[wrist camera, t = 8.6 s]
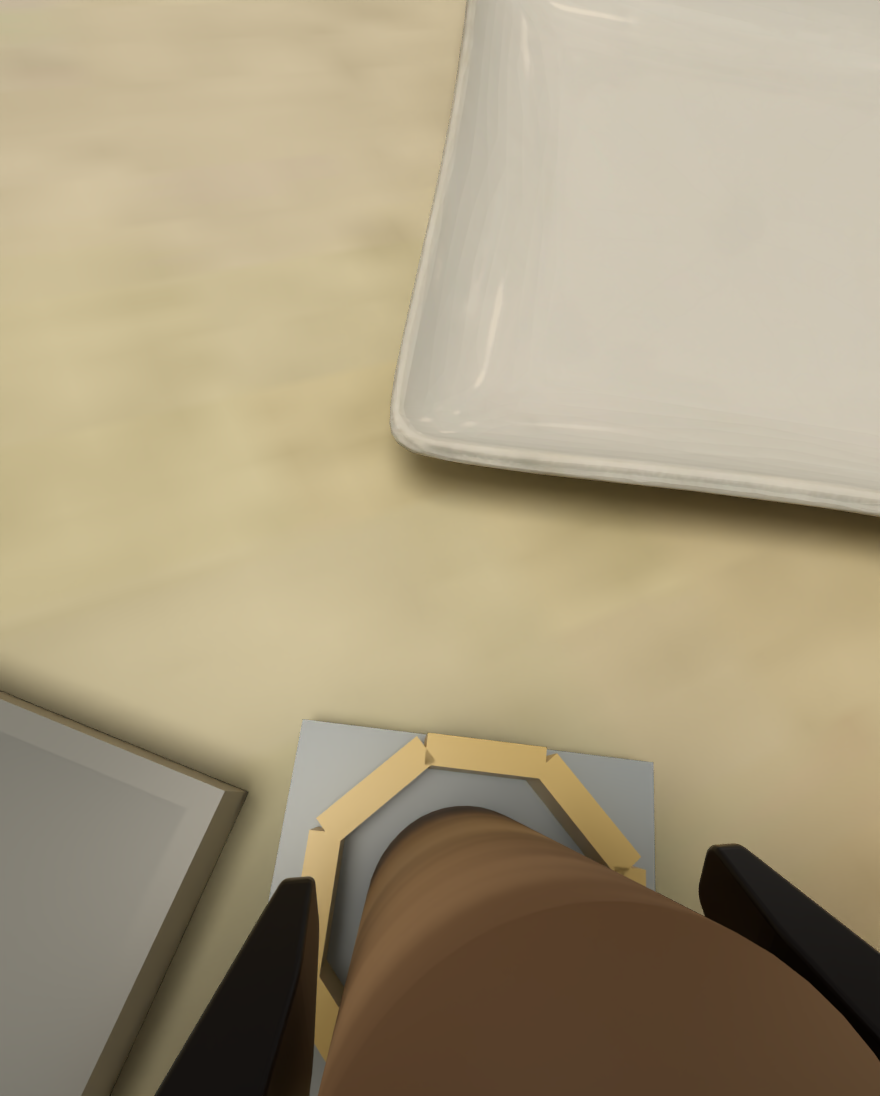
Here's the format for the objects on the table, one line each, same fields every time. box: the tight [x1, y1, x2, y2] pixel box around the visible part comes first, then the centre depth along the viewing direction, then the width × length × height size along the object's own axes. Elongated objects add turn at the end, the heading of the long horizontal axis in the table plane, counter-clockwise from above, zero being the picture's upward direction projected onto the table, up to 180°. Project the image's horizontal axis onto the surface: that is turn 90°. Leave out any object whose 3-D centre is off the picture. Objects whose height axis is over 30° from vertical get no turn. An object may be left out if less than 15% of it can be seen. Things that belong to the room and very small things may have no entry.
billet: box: [318, 806, 880, 1096], centre depth 9 cm, size 5×5×11 cm
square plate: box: [390, 0, 880, 517], centre depth 24 cm, size 27×27×4 cm
